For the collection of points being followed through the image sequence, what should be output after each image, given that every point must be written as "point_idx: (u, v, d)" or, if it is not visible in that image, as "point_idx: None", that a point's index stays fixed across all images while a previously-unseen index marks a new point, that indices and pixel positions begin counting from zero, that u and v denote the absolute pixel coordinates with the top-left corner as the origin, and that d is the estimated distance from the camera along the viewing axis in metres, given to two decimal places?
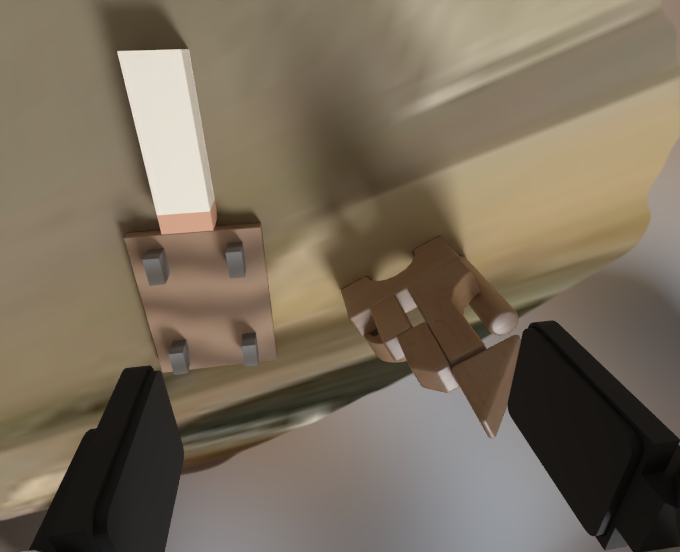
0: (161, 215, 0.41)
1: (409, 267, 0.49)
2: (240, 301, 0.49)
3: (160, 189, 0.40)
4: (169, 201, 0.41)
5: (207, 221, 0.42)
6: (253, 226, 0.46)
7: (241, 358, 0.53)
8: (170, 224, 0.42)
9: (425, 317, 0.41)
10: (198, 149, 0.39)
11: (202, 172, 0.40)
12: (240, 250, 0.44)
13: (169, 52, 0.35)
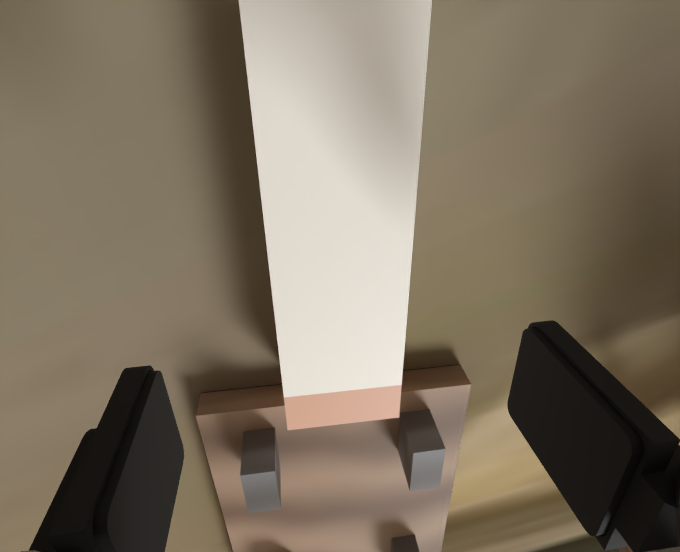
0: (293, 397, 0.18)
1: None
2: (400, 495, 0.26)
3: (300, 349, 0.16)
4: (315, 371, 0.17)
5: (389, 403, 0.19)
6: (455, 381, 0.22)
7: None
8: (310, 411, 0.18)
9: None
10: (409, 261, 0.15)
11: (405, 310, 0.16)
12: (441, 443, 0.21)
13: None
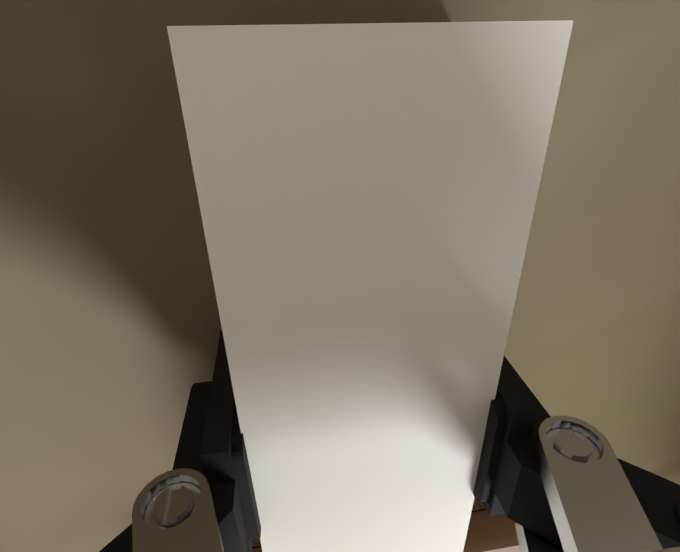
0: None
1: None
2: None
3: None
4: None
5: None
6: (514, 536, 0.16)
7: None
8: None
9: None
10: (479, 450, 0.09)
11: (467, 511, 0.10)
12: None
13: (501, 39, 0.05)
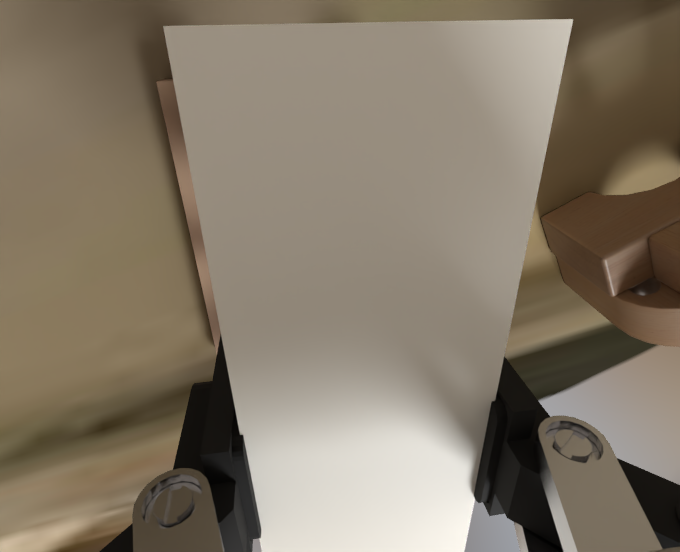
0: None
1: None
2: None
3: None
4: None
5: None
6: None
7: None
8: None
9: None
10: (479, 451, 0.09)
11: (468, 512, 0.10)
12: None
13: (500, 38, 0.05)
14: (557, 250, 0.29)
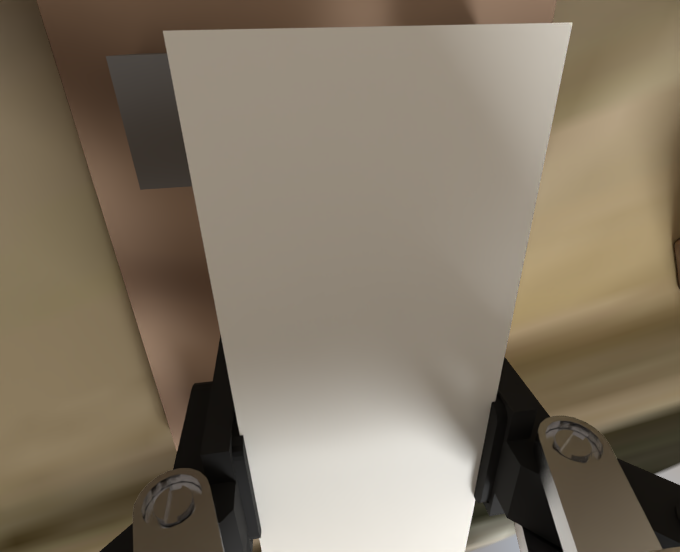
0: None
1: None
2: None
3: None
4: None
5: None
6: None
7: None
8: None
9: None
10: (479, 453, 0.09)
11: (468, 513, 0.10)
12: None
13: (499, 42, 0.05)
14: None
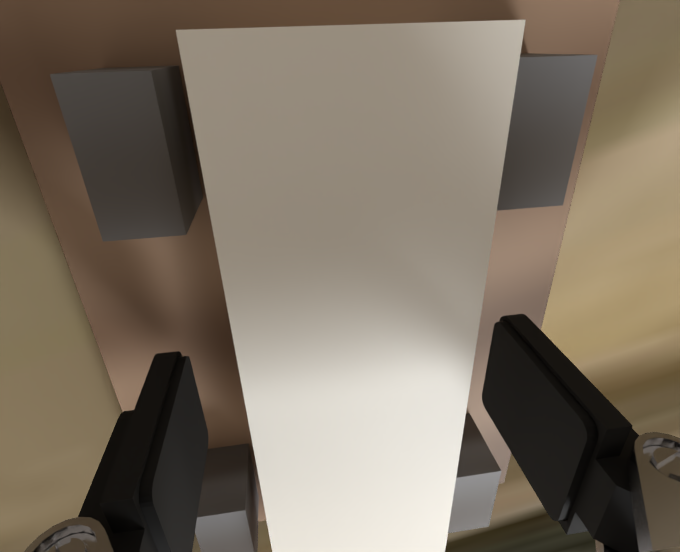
0: None
1: None
2: None
3: (300, 530, 0.11)
4: None
5: None
6: None
7: None
8: None
9: None
10: (461, 413, 0.10)
11: (453, 472, 0.11)
12: None
13: (462, 37, 0.06)
14: None
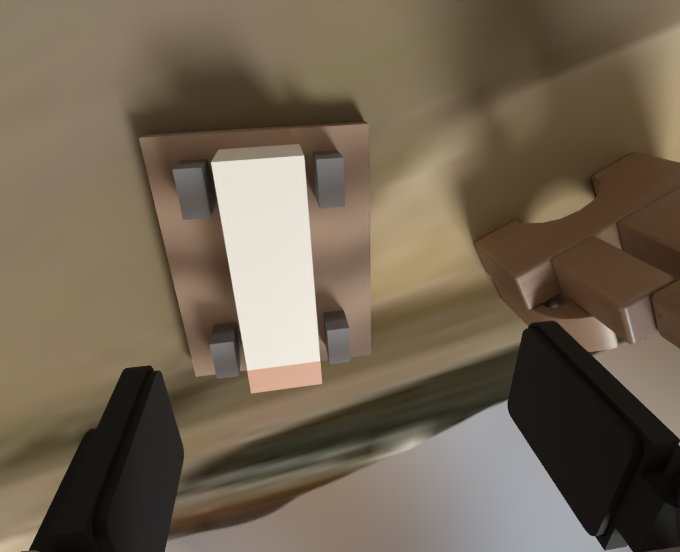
0: (253, 370, 0.29)
1: (600, 197, 0.30)
2: (325, 257, 0.31)
3: (254, 339, 0.28)
4: (265, 353, 0.29)
5: (314, 373, 0.30)
6: (357, 123, 0.27)
7: None
8: (264, 380, 0.30)
9: None
10: (313, 285, 0.27)
11: (315, 313, 0.28)
12: (341, 156, 0.26)
13: (287, 160, 0.23)
14: (489, 271, 0.33)
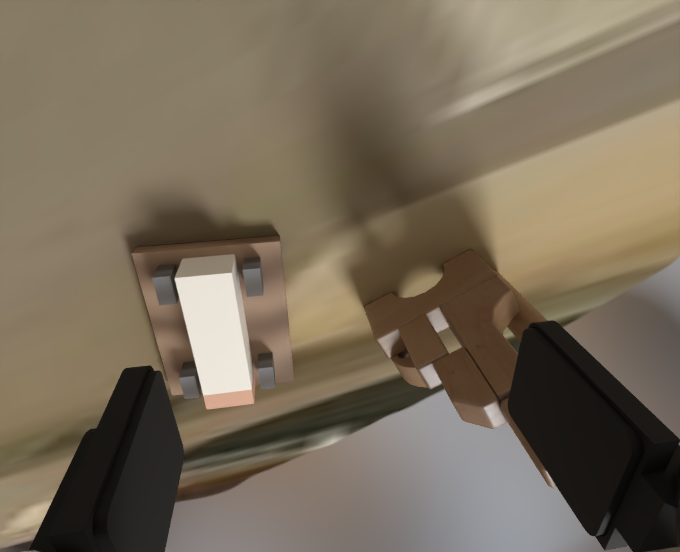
0: (207, 395, 0.45)
1: (439, 283, 0.45)
2: (256, 319, 0.46)
3: (207, 376, 0.43)
4: (214, 384, 0.44)
5: (248, 397, 0.46)
6: (272, 240, 0.42)
7: (256, 379, 0.50)
8: (215, 401, 0.45)
9: (463, 342, 0.37)
10: (243, 344, 0.42)
11: (246, 361, 0.43)
12: (258, 266, 0.41)
13: (221, 275, 0.38)
14: None
